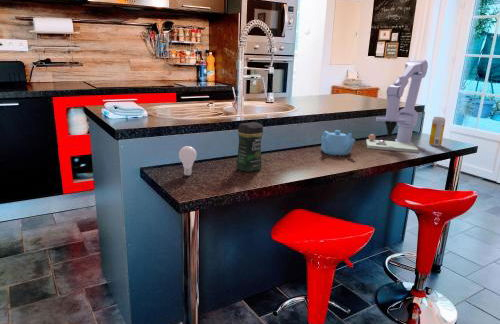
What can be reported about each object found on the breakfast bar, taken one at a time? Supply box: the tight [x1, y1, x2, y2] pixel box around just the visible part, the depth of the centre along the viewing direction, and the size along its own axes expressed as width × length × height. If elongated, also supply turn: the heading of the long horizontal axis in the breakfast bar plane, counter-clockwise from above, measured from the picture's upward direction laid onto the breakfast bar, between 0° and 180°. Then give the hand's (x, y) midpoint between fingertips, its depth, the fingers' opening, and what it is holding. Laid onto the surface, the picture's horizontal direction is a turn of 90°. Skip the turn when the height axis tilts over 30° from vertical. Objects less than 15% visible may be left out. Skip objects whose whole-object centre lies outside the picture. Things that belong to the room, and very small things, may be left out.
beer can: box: [428, 116, 446, 147], centre depth 207 cm, size 6×6×15 cm
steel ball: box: [378, 139, 386, 145], centre depth 199 cm, size 4×4×4 cm
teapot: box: [320, 129, 356, 157], centre depth 182 cm, size 15×15×11 cm
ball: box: [368, 133, 376, 141], centre depth 206 cm, size 4×4×4 cm
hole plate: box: [365, 138, 419, 154], centre depth 200 cm, size 16×24×2 cm, turn 76°
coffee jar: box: [235, 121, 264, 173], centre depth 149 cm, size 10×8×19 cm
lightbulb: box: [178, 145, 198, 177], centre depth 139 cm, size 6×6×11 cm
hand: (389, 136), depth 197 cm, fingers closed
